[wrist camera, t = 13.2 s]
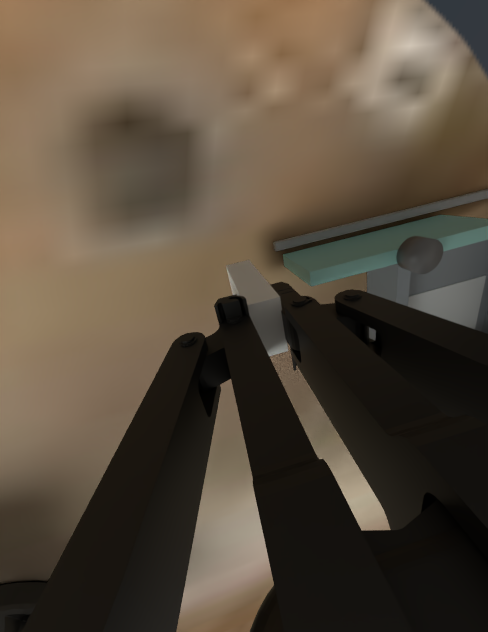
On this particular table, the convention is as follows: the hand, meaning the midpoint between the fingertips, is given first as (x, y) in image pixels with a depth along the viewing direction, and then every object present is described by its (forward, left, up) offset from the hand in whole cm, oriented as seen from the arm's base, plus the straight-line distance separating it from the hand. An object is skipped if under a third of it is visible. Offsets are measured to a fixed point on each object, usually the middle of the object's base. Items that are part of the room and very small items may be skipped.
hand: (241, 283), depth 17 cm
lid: (+10, 0, -3) cm, 11 cm away
